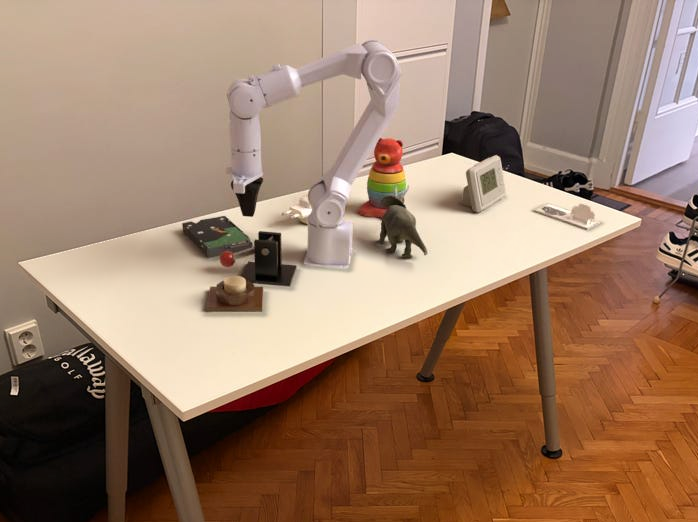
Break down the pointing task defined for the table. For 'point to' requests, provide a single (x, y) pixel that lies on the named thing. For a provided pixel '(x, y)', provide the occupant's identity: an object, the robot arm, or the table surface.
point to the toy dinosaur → (399, 225)
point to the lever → (237, 255)
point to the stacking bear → (384, 176)
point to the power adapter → (300, 210)
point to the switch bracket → (268, 262)
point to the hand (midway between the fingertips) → (248, 215)
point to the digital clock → (484, 184)
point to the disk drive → (216, 236)
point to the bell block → (235, 299)
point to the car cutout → (571, 215)
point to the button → (234, 284)
